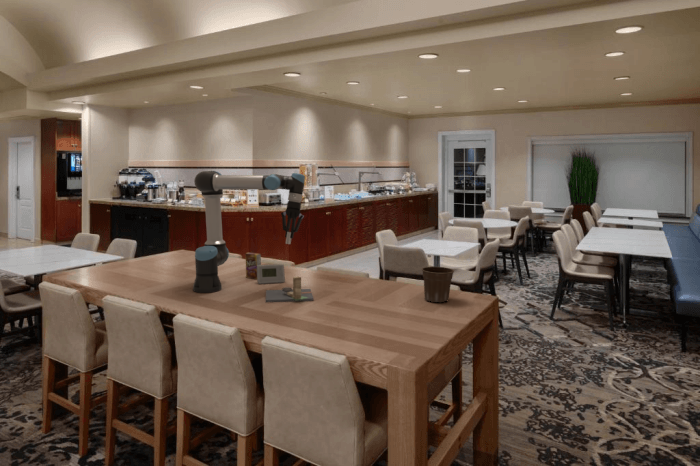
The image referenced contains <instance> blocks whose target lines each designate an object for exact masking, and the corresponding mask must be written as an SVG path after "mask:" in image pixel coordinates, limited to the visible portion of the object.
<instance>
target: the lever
mask: <svg viewBox="0 0 700 466" xmlns="http://www.w3.org/2000/svg"><path fill="white" fill-rule="evenodd" d="M292 289H293V292H288V291H292ZM301 289H302V277H301V276H293V277H292V287H289V286H287V287H283V288H282V289H281V290H282V291H285V292H287V295H289V296H291V297H293V298H294V299H301Z"/></svg>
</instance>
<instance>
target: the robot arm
mask: <svg viewBox="0 0 700 466" xmlns="http://www.w3.org/2000/svg"><path fill="white" fill-rule="evenodd" d="M305 179H306V177H305V175H304V174H302V173H298V172H297V173H296V172H294V173H291V176H288V175H282V174H276V173H275V174H274V173H272V174H270V175H256V174H254V175H252V174H250V175H247V174H245V175H244V174H243V175H242V174H241V175H240V174H239V175H238V174H227V175H226V174H221V173H220V172H219V171H215V170H203V171H200V172H199V173H197V174H196V175H195V178H194V185H195V188H196V189H197V190H198V191H200V192H201V196H202V197H203V198H204V210H205V225H206V241H205V242H204V246H200V247H198V248H195V249H196V250H195V251H194V261H195V263H194V264H195V279H194V282H193V285H192V291H193V292H194V293H201V294H202V293H203V294H206V293H215V292H219V291H221V290H222V288H223V287H222V283H221V279H220V278H219V277H220V276H219V268H218V267H219V266H222V265H223V264H225V263H226V262H227V261H228V259H229V256H230V252H229V251H230V250H229V249H228V248H227V245H226V241H225V240H224V239H223V238H224V237H223V223H222V206H221V197H223V195H224V191H223V190H259V191H260V190H261V191H263V190H267V191H268V190H269V191H275V190H276V191H277V190H287V191H288V198H287V200H288V201H287V203H286V204H287V205H286V209H285V211H282V212H280V215H281V219H282V220H281V221H282V230H283V231H285V233H284V234H285V236H284V237H285V244H286V245H287V244H288V245H291V244H292V243H291V242H292V239H294V235H295V233H298V231H299V228H300V225H301V223H302V221H303V219H304V218H305V215H303V214H302V213H301V208H302V201H303V193H304V188H305ZM286 216H287V217H286ZM297 218H298V219H297ZM296 221H297V222H296Z"/></svg>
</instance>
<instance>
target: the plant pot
mask: <svg viewBox="0 0 700 466" xmlns="http://www.w3.org/2000/svg"><path fill="white" fill-rule="evenodd" d="M421 271H422V278H423V289H424V292H423V293H424V301H426V300H427V301H426V302H430V301H431V302H430V303H433V302H444V301H447V300H448V301H449V299H450V291H451V284H452V280H453V275H454V273H455V270H454V269H453V268H450V267H445V266H426V267H422V268H421ZM444 303H445V302H444Z"/></svg>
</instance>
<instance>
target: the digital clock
mask: <svg viewBox="0 0 700 466" xmlns="http://www.w3.org/2000/svg"><path fill="white" fill-rule="evenodd" d="M285 278H286V277H285V265H284V263H274V264H269V263H268V264H261V265H258V266H257V279H256V282H257V284H258V285H268V284H269V285H271V284H281V283H285V281H286V279H285Z"/></svg>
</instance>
